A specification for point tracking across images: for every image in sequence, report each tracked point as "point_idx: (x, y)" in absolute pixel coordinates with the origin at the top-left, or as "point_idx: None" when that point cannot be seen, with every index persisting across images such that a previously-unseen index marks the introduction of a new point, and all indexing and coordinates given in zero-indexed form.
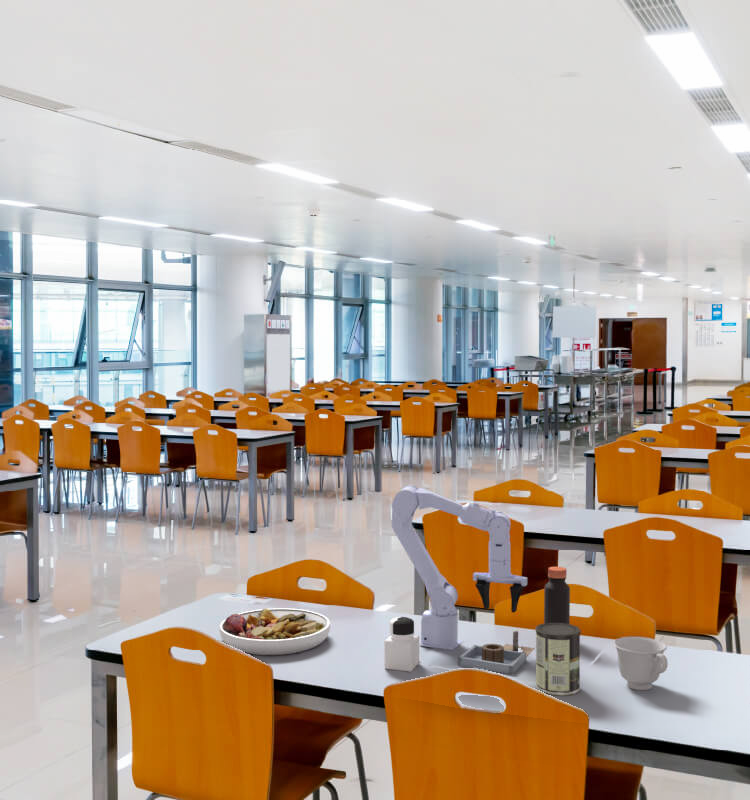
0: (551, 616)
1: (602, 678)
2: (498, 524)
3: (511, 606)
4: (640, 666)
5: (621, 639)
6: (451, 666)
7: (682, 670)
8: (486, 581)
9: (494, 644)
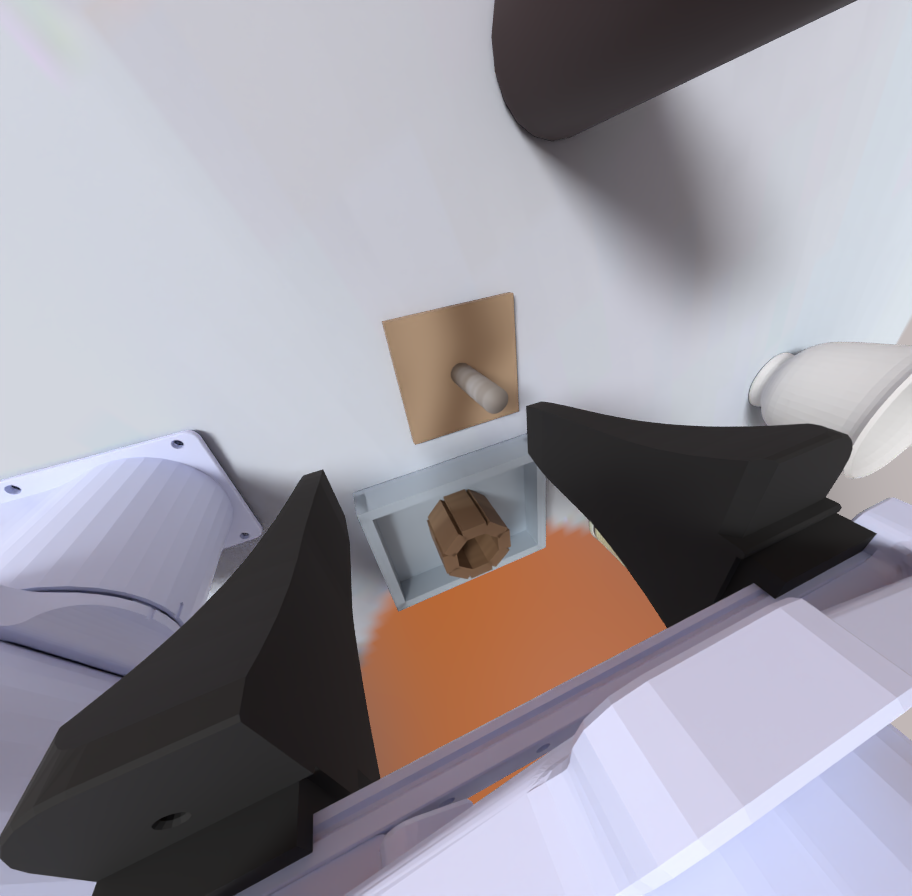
0: (675, 74)
1: (707, 393)
2: None
3: (554, 483)
4: None
5: (884, 403)
6: (372, 595)
7: (901, 182)
8: (348, 814)
9: (470, 533)
